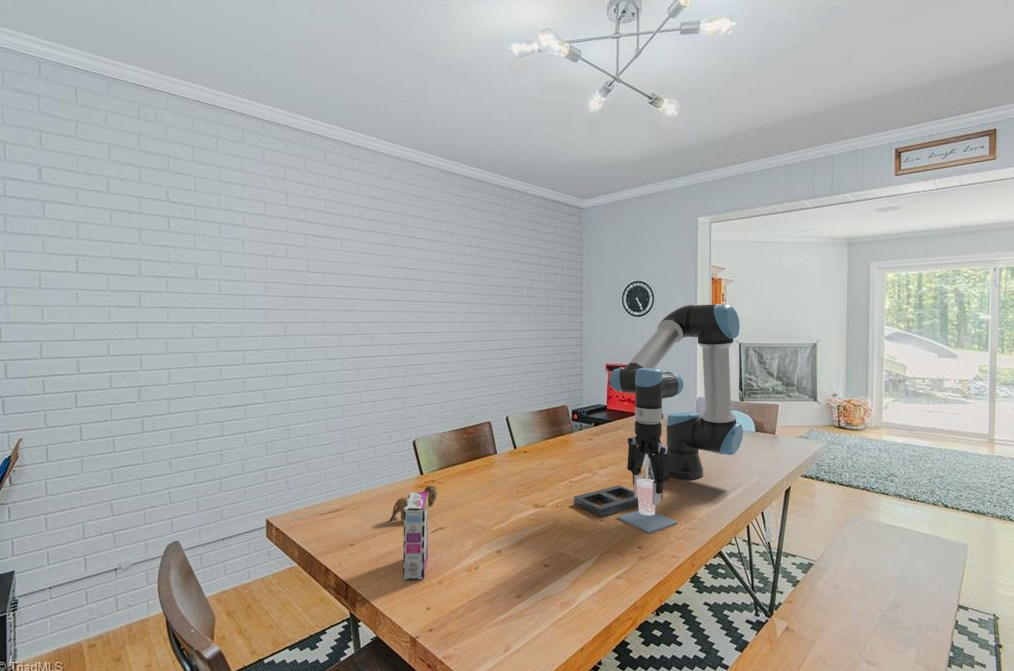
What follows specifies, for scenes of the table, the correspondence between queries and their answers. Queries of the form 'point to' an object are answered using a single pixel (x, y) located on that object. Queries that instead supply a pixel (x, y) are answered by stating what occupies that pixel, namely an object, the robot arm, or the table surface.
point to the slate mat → (647, 521)
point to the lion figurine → (402, 501)
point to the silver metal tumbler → (649, 469)
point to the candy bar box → (415, 536)
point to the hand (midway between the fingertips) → (647, 499)
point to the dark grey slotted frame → (607, 501)
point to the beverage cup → (645, 496)
